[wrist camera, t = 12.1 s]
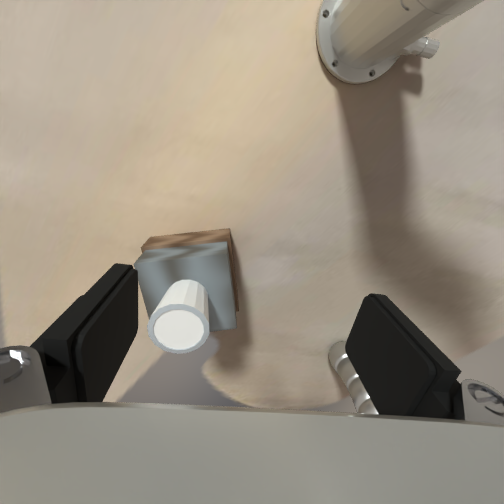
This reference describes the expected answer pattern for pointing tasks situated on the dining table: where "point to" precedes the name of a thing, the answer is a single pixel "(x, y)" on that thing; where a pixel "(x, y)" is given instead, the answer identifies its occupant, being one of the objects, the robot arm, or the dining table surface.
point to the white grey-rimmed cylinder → (181, 318)
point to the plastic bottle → (350, 379)
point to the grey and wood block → (191, 271)
